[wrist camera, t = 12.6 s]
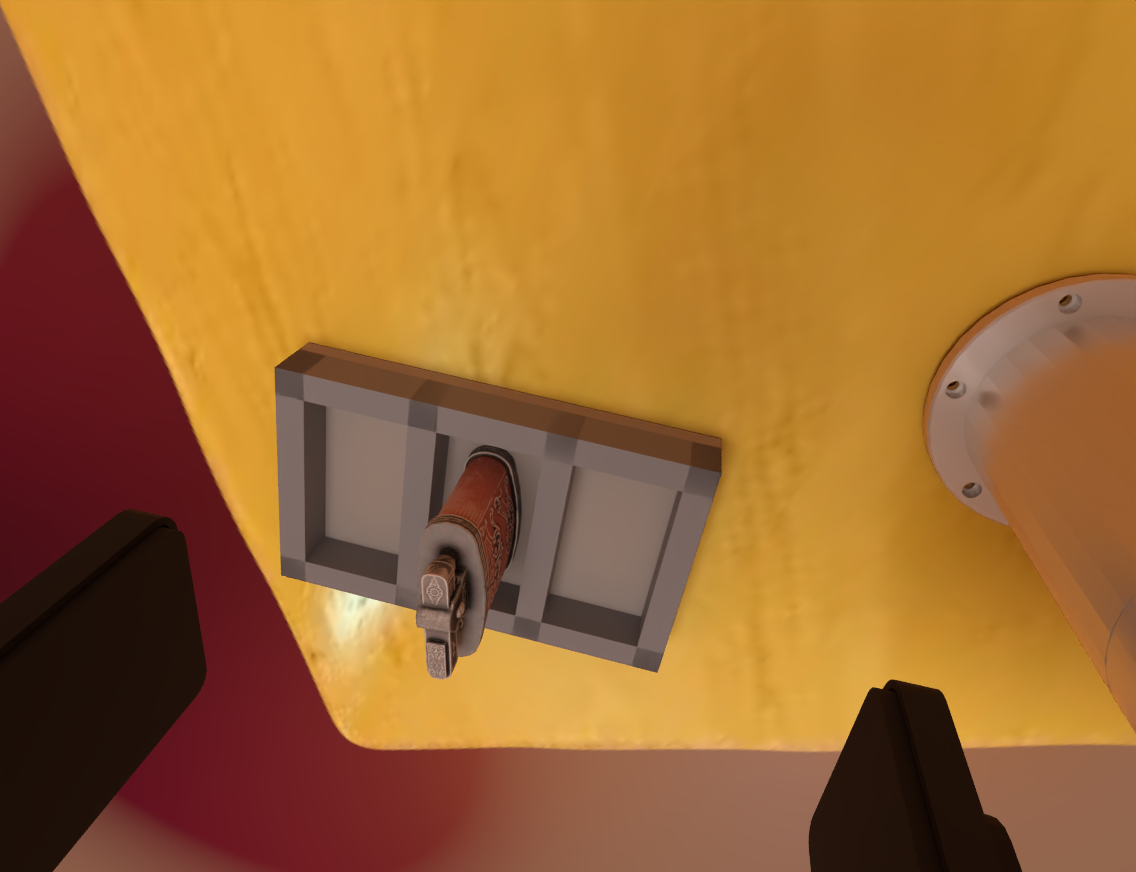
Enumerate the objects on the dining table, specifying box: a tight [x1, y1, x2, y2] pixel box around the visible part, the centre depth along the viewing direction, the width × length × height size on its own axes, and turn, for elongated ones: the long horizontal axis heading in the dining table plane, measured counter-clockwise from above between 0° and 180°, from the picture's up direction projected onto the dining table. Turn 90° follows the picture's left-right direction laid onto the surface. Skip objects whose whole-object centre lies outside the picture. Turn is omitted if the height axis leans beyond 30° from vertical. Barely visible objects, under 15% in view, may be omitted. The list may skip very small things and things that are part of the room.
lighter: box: [416, 445, 522, 679], centre depth 37 cm, size 8×3×10 cm, turn 178°
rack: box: [275, 343, 721, 673], centre depth 41 cm, size 22×14×4 cm, turn 80°
